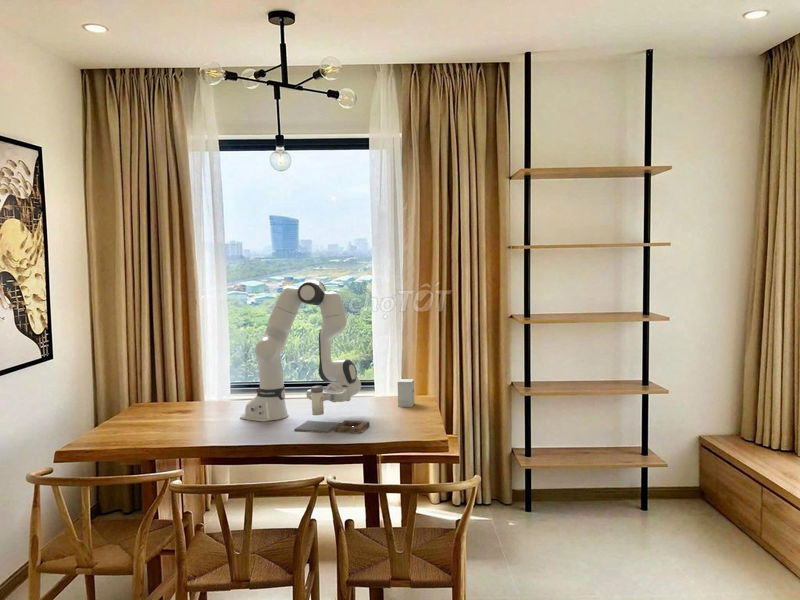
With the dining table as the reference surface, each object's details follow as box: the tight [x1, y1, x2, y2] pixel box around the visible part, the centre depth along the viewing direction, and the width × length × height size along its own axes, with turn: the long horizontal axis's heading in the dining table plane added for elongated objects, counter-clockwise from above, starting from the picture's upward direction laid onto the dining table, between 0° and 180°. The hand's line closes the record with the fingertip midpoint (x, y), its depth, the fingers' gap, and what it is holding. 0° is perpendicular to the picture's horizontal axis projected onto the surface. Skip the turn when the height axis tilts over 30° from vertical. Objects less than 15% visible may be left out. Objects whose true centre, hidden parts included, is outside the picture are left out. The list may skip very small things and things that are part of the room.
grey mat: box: [293, 420, 341, 434], centre depth 279 cm, size 16×14×1 cm
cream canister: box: [310, 385, 325, 416], centre depth 278 cm, size 5×5×12 cm
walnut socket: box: [334, 419, 370, 434], centre depth 275 cm, size 12×12×2 cm
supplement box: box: [397, 378, 415, 408], centre depth 316 cm, size 7×7×13 cm
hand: (316, 398), depth 278 cm, fingers closed on cream canister, 5 cm apart
